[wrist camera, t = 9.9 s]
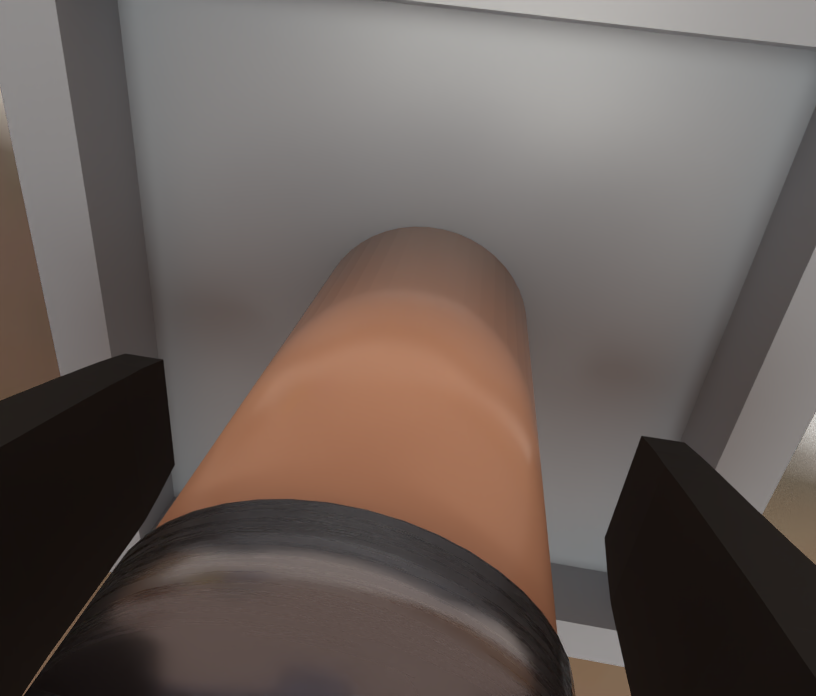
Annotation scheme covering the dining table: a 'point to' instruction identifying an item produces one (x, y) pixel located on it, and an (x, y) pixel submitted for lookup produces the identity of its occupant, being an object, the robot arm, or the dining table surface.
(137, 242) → the tray
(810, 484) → the dining table surface
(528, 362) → the shaker
